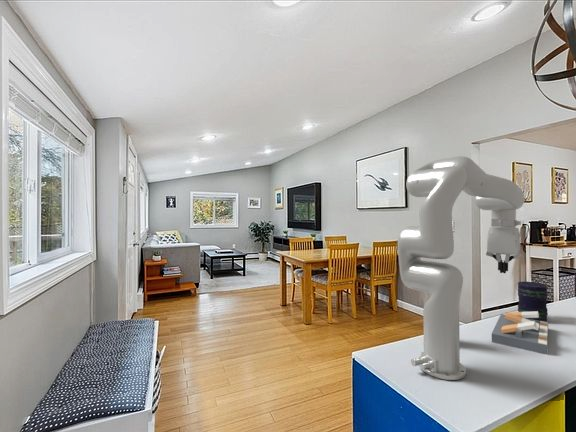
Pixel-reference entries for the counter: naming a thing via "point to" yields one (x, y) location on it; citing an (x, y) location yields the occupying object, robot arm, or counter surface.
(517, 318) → the switch
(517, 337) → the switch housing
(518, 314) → the switch
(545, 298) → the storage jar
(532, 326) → the switch
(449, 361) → the robot arm
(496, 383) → the counter surface
